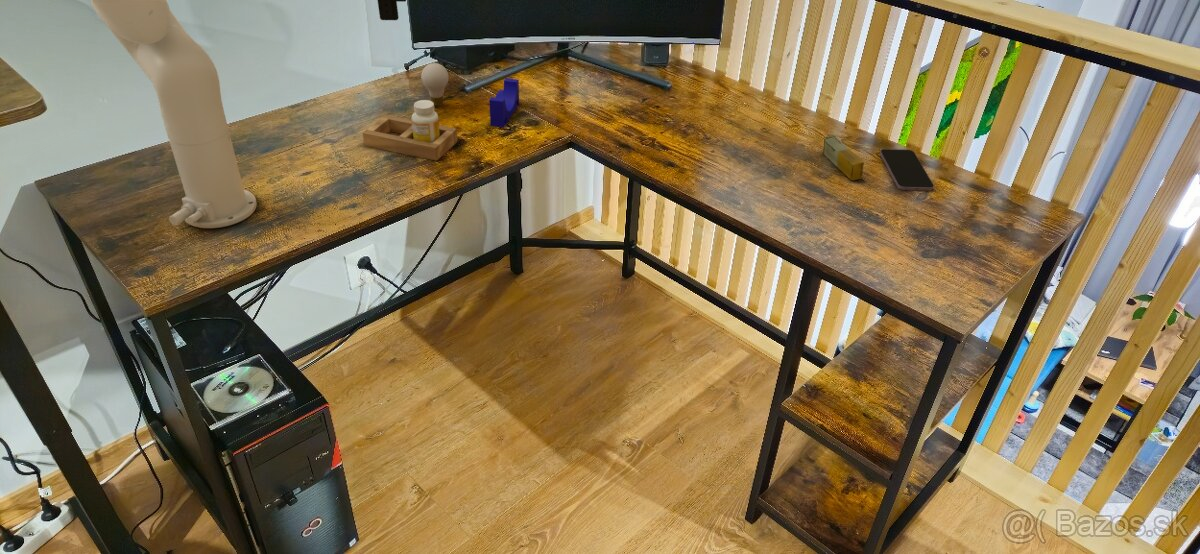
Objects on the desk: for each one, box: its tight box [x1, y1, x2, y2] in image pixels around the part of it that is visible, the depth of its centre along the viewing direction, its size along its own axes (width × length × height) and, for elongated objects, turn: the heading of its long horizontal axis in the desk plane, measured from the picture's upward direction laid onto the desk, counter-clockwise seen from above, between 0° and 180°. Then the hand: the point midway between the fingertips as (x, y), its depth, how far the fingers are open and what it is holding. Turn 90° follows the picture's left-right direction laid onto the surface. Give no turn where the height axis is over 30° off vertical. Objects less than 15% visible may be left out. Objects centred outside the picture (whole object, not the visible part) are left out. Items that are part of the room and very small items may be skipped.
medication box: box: [822, 135, 865, 182], centre depth 172 cm, size 12×3×4 cm, turn 16°
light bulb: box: [420, 62, 449, 108], centre depth 187 cm, size 6×6×10 cm
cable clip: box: [488, 77, 520, 128], centre depth 186 cm, size 12×4×6 cm, turn 168°
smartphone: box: [879, 148, 935, 192], centre depth 172 cm, size 7×1×15 cm
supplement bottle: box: [411, 99, 440, 143], centre depth 171 cm, size 5×5×10 cm
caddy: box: [362, 114, 459, 162], centre depth 174 cm, size 9×17×3 cm, turn 71°
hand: (394, 10), depth 154 cm, fingers open, 9 cm apart
